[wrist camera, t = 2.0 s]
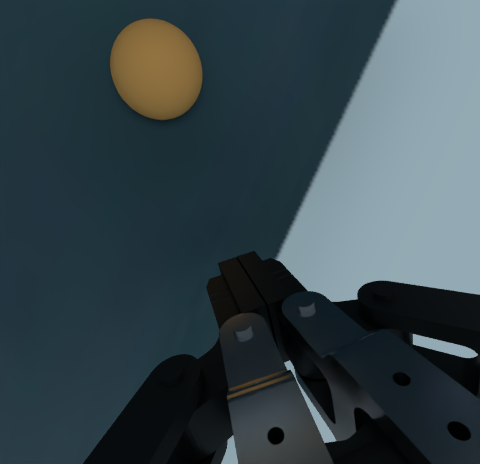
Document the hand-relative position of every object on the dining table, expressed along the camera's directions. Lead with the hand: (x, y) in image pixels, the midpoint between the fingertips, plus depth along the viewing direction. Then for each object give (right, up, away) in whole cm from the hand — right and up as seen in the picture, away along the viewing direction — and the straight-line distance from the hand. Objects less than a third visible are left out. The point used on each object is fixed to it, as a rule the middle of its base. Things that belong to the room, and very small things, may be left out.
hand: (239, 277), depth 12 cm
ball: (-6, +13, +8) cm, 16 cm away
